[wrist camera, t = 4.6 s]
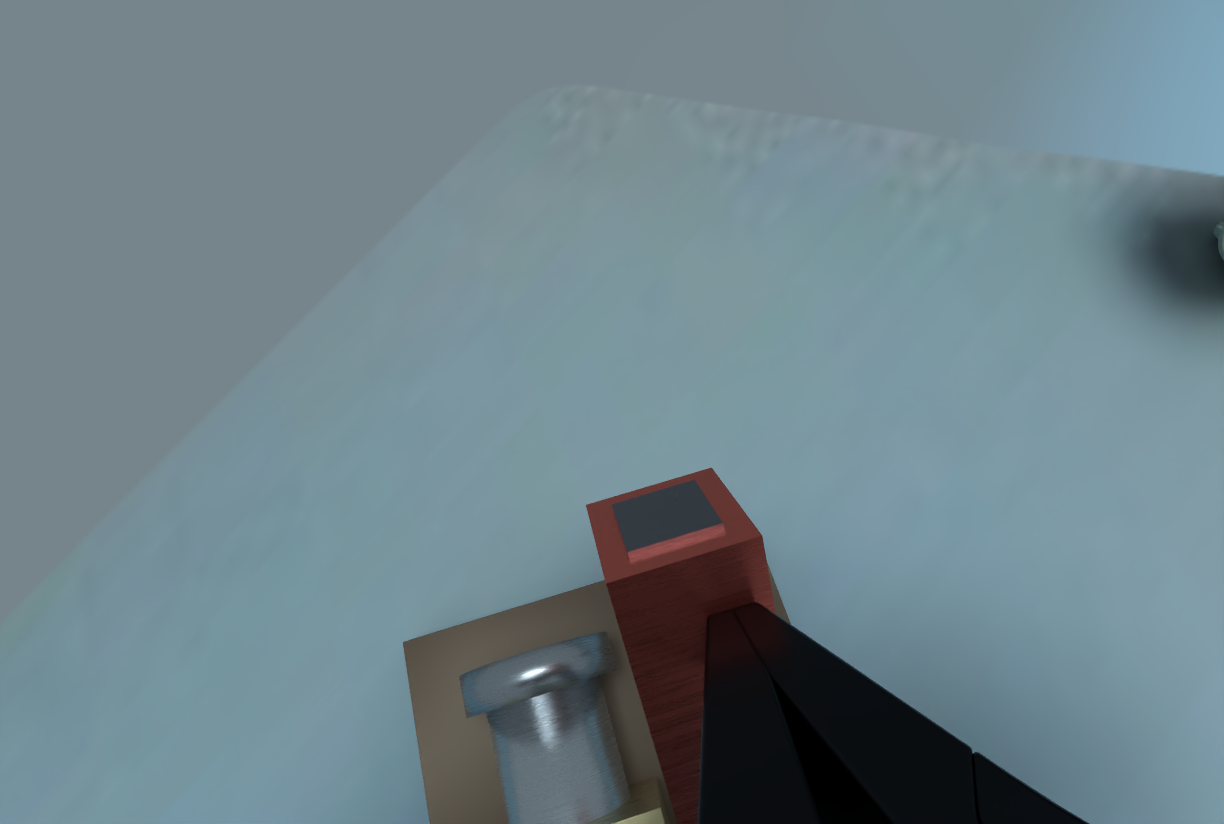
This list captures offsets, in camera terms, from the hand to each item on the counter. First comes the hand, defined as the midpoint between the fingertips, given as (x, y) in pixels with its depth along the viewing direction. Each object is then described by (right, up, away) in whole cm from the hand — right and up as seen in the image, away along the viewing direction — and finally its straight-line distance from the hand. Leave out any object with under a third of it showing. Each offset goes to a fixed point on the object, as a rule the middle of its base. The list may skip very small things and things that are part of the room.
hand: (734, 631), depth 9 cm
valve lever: (+1, -8, +4) cm, 9 cm away
